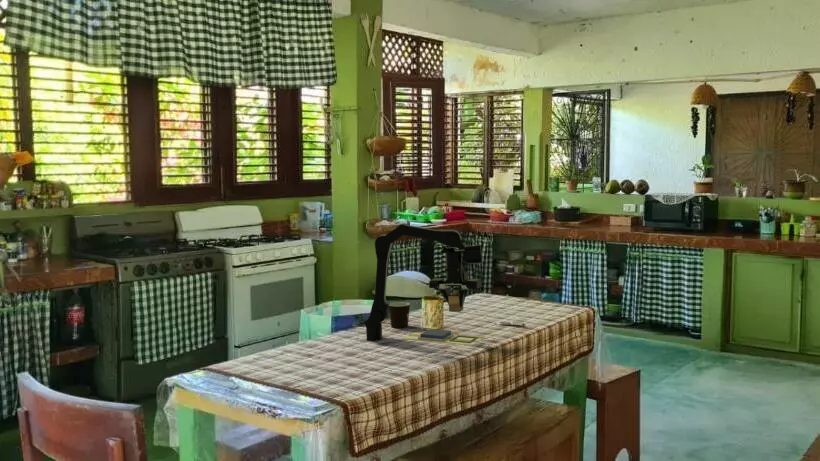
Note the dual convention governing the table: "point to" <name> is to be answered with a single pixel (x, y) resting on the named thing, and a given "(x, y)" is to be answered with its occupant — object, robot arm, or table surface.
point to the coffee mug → (399, 314)
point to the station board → (452, 340)
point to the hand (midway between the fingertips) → (456, 306)
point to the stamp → (454, 302)
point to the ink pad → (436, 335)
